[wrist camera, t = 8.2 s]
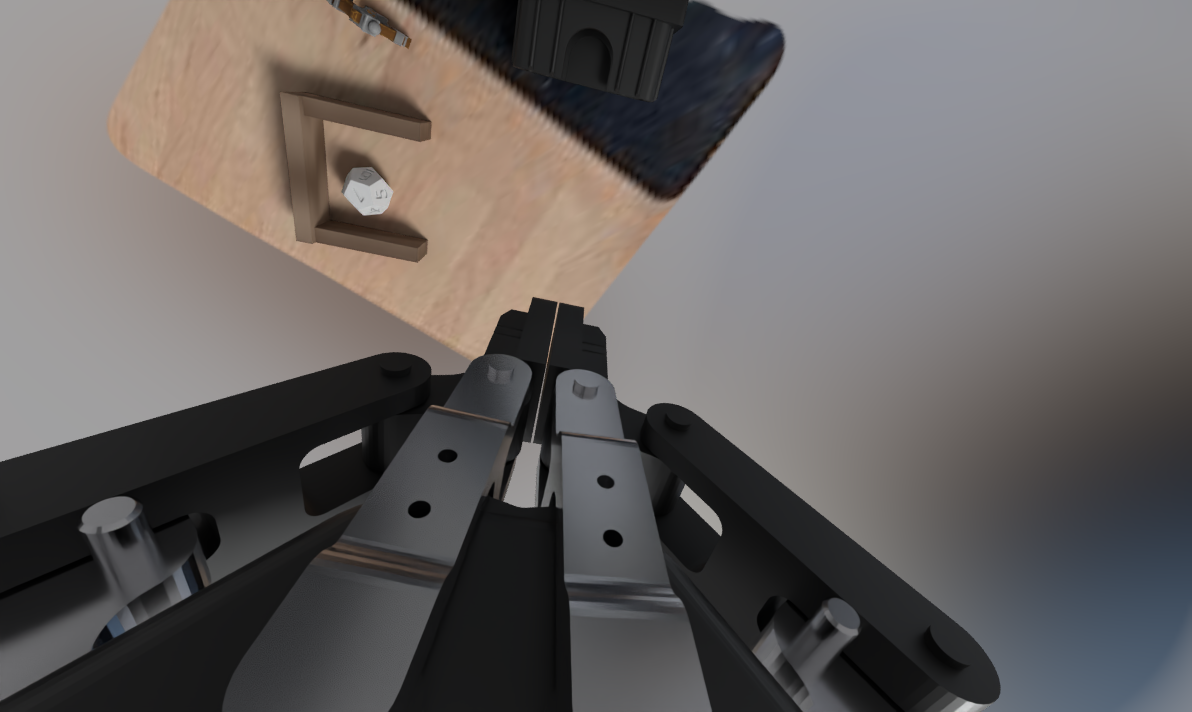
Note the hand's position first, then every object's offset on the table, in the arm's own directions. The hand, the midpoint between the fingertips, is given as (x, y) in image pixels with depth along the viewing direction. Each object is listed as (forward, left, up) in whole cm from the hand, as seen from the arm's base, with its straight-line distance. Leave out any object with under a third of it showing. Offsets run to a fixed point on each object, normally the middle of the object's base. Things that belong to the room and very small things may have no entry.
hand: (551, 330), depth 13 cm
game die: (+4, -16, -27) cm, 32 cm away
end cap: (-10, -1, -27) cm, 29 cm away
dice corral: (+3, -16, -27) cm, 31 cm away
